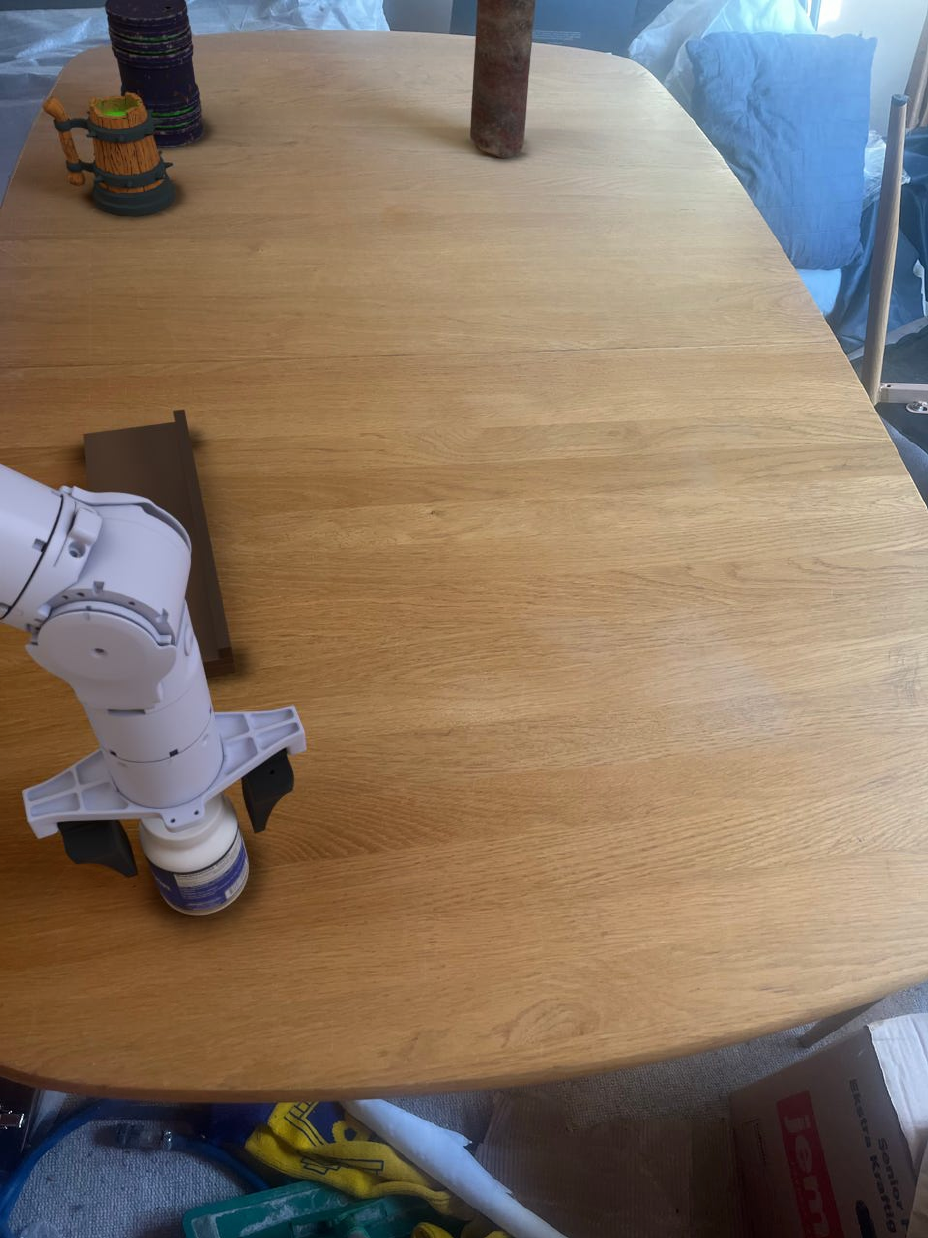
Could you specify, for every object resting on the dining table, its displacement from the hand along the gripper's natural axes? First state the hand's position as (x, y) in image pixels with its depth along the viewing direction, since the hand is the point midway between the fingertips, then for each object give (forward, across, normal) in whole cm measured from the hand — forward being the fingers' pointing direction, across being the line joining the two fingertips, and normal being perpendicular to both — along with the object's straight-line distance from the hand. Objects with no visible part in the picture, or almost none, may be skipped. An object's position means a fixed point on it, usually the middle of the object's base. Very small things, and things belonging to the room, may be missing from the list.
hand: (193, 840), depth 58 cm
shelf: (+5, +4, +30) cm, 30 cm away
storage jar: (+5, +22, +105) cm, 107 cm away
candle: (+5, +63, +89) cm, 109 cm away
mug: (+5, +13, +89) cm, 90 cm away
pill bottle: (+5, 0, 0) cm, 5 cm away
